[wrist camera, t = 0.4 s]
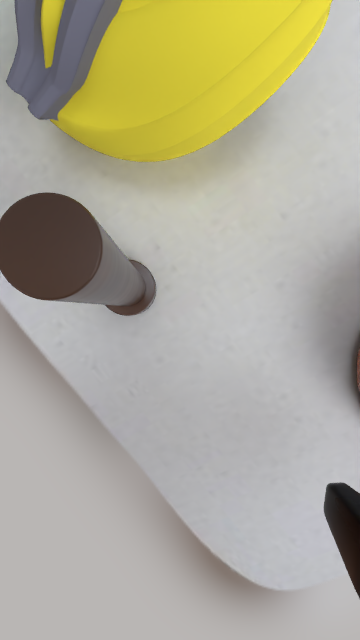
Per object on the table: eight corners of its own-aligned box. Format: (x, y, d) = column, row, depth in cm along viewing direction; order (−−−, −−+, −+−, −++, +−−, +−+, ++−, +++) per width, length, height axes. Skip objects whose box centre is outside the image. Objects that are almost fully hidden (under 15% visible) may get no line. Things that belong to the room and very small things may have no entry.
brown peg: (156, 314, 20) (131, 324, 7) (105, 315, 20) (-32, 328, 6) (155, 263, 20) (126, 163, 6) (103, 263, 20) (-39, 164, 6)
